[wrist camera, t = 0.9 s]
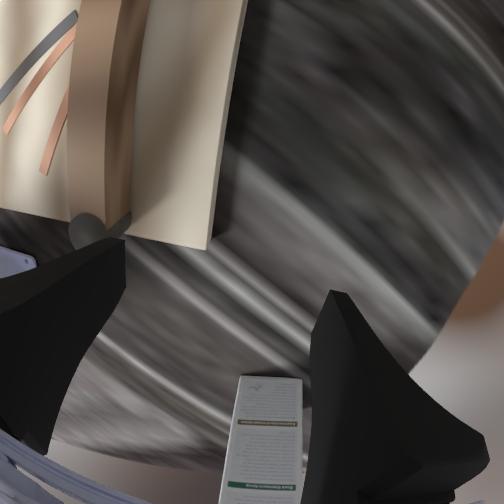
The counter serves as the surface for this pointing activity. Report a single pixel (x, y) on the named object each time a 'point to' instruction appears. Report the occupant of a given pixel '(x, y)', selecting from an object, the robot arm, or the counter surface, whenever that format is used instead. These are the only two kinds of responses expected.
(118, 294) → the robot arm
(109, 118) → the lever
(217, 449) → the counter surface
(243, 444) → the syrup box
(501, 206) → the counter surface
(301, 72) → the counter surface
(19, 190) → the board
